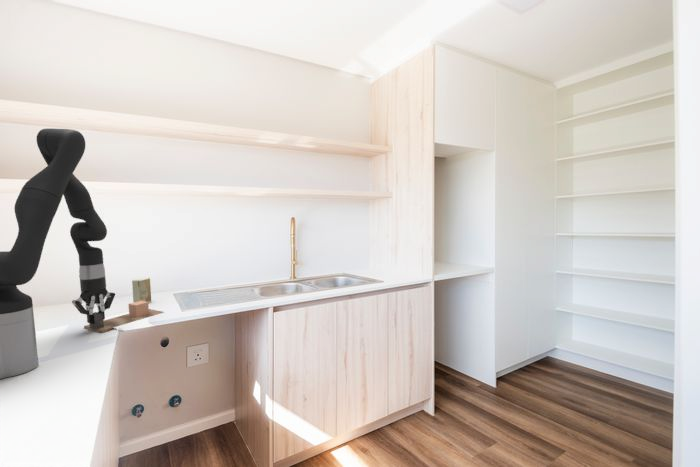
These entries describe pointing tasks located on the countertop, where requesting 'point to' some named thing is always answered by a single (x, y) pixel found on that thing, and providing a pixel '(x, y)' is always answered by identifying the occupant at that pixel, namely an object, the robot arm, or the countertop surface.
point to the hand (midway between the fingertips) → (96, 322)
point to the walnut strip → (115, 321)
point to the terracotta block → (138, 309)
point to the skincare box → (141, 290)
